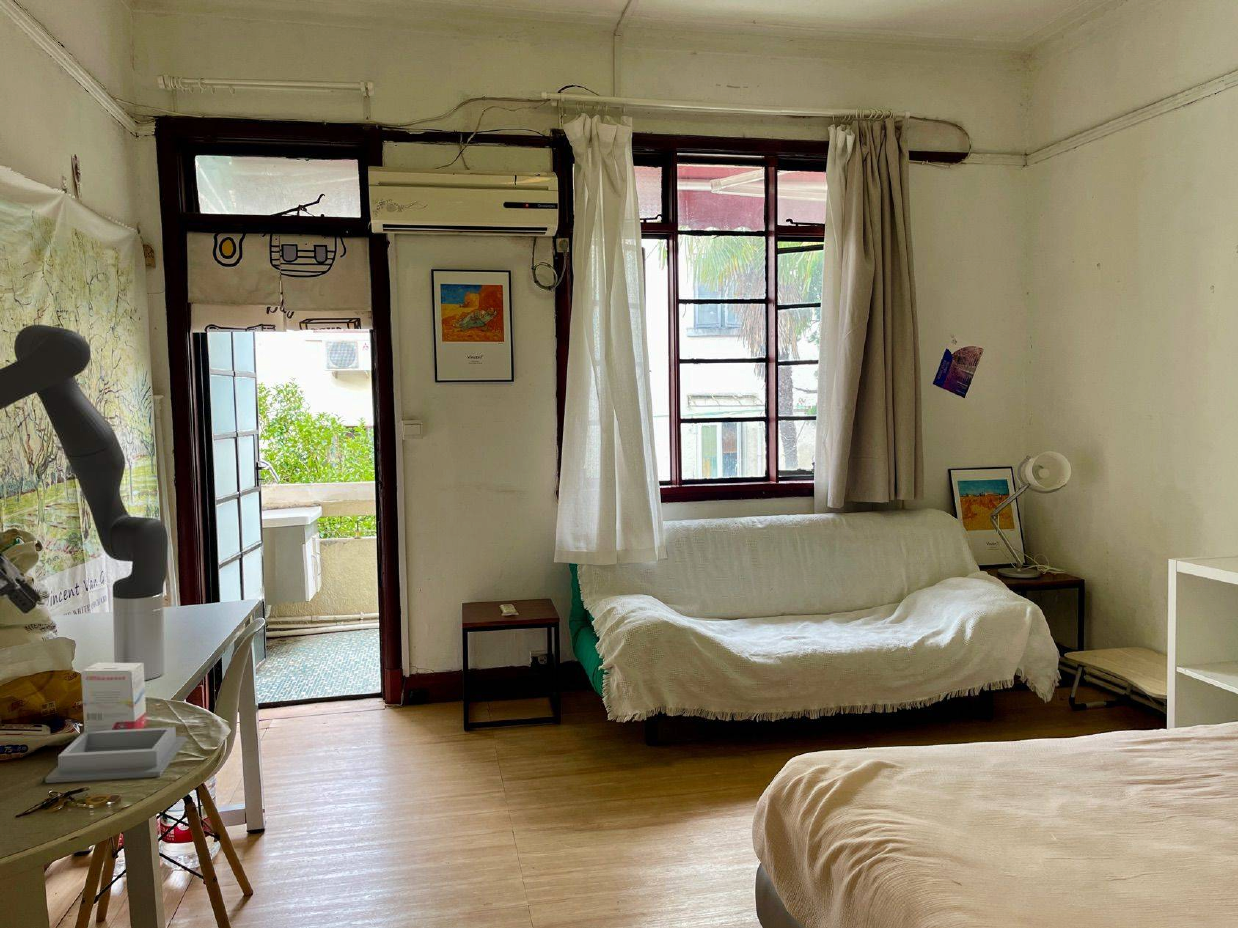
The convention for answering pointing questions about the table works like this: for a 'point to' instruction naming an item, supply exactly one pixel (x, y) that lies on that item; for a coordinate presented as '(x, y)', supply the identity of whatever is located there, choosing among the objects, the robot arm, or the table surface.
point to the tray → (117, 755)
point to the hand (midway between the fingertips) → (33, 605)
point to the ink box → (113, 696)
